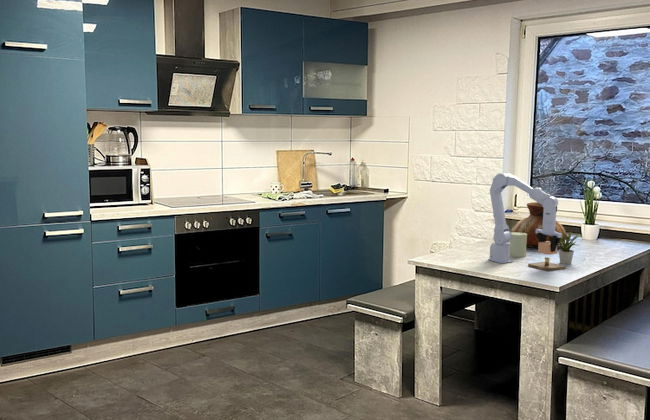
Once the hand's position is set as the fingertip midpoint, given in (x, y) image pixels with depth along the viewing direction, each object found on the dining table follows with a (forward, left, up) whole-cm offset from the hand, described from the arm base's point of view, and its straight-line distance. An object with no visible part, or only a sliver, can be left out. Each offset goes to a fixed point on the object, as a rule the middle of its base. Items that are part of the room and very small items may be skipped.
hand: (547, 250), depth 314 cm
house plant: (-2, +16, -9) cm, 18 cm away
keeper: (0, 0, -8) cm, 8 cm away
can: (-28, +8, -9) cm, 30 cm away
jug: (-44, +39, -9) cm, 59 cm away
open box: (0, 0, -1) cm, 1 cm away
